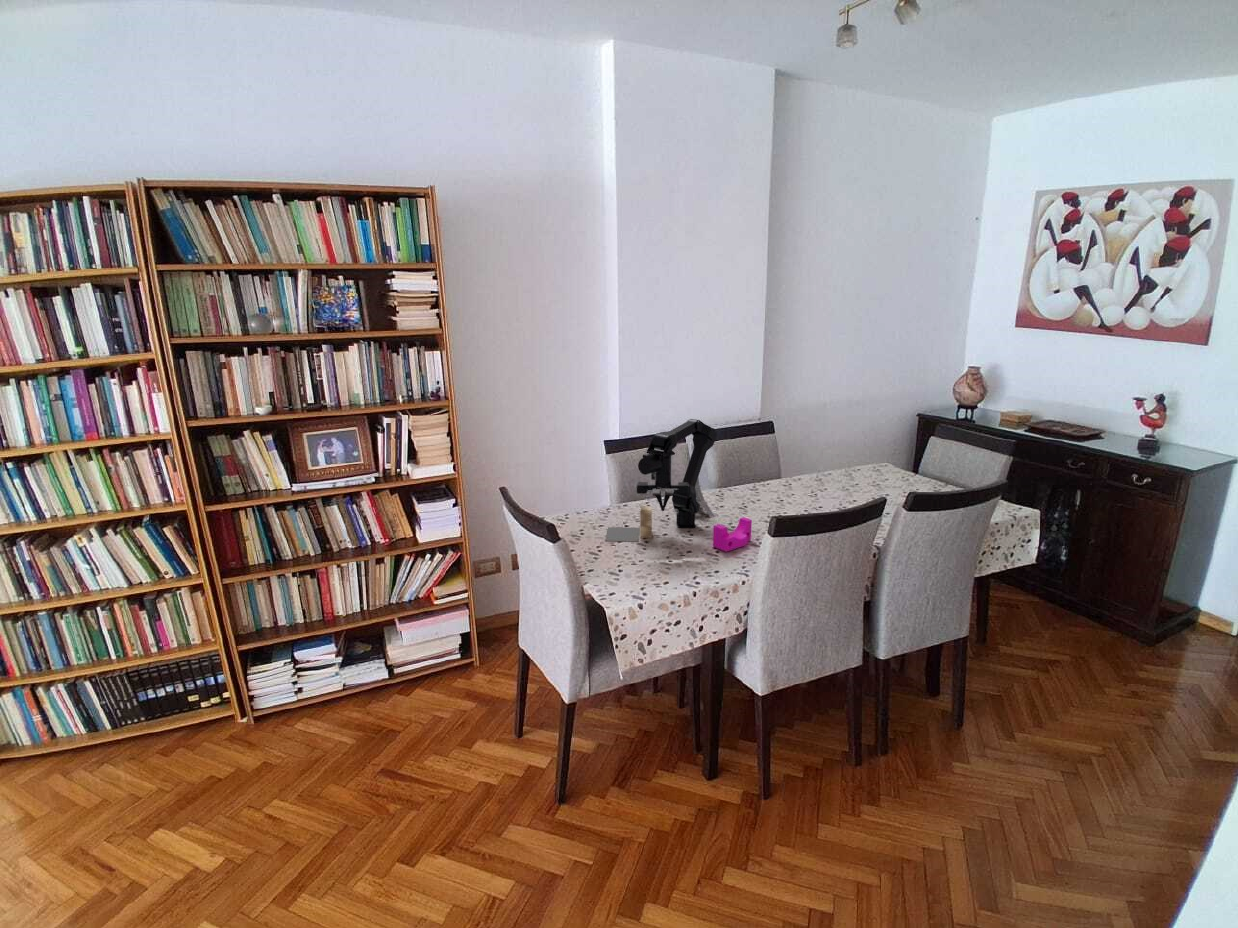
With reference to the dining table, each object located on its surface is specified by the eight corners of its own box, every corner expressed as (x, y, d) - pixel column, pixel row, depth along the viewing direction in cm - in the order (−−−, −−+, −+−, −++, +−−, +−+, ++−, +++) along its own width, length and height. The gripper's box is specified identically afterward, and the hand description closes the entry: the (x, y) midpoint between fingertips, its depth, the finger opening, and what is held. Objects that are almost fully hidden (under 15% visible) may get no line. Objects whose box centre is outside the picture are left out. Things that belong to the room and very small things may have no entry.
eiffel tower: (701, 507, 263) (703, 436, 256) (716, 517, 251) (718, 443, 243) (671, 511, 259) (672, 439, 252) (685, 521, 247) (686, 445, 239)
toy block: (725, 551, 217) (726, 530, 215) (712, 546, 222) (713, 525, 220) (756, 541, 226) (757, 521, 224) (743, 536, 231) (743, 517, 229)
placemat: (639, 528, 240) (639, 527, 240) (638, 541, 226) (638, 541, 226) (608, 527, 240) (608, 527, 240) (604, 541, 227) (604, 540, 227)
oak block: (651, 532, 235) (651, 506, 233) (651, 538, 230) (651, 511, 227) (640, 531, 236) (640, 506, 233) (640, 537, 230) (640, 511, 227)
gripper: (688, 463, 233) (688, 503, 237) (637, 463, 234) (637, 503, 238) (689, 471, 222) (689, 513, 226) (636, 471, 224) (636, 513, 228)
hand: (662, 510), depth 230 cm, fingers closed
